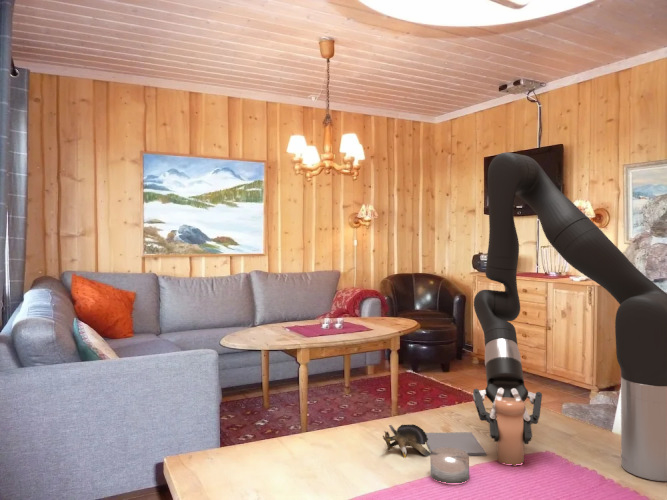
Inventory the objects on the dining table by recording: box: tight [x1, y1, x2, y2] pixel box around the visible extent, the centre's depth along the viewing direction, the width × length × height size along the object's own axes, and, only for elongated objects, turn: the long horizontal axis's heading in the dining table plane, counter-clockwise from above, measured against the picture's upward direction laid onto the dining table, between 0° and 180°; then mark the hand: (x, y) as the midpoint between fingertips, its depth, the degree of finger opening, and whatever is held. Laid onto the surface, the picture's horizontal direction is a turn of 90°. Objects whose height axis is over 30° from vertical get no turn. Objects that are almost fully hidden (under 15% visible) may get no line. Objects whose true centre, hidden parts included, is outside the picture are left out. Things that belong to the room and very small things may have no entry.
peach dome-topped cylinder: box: [495, 397, 526, 465], centre depth 99 cm, size 6×6×12 cm
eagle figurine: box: [382, 423, 431, 459], centre depth 103 cm, size 8×7×9 cm
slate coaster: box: [425, 431, 487, 457], centre depth 107 cm, size 11×11×1 cm
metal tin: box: [429, 447, 470, 483], centre depth 93 cm, size 7×7×4 cm
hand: (511, 440), depth 97 cm, fingers closed on peach dome-topped cylinder, 5 cm apart
